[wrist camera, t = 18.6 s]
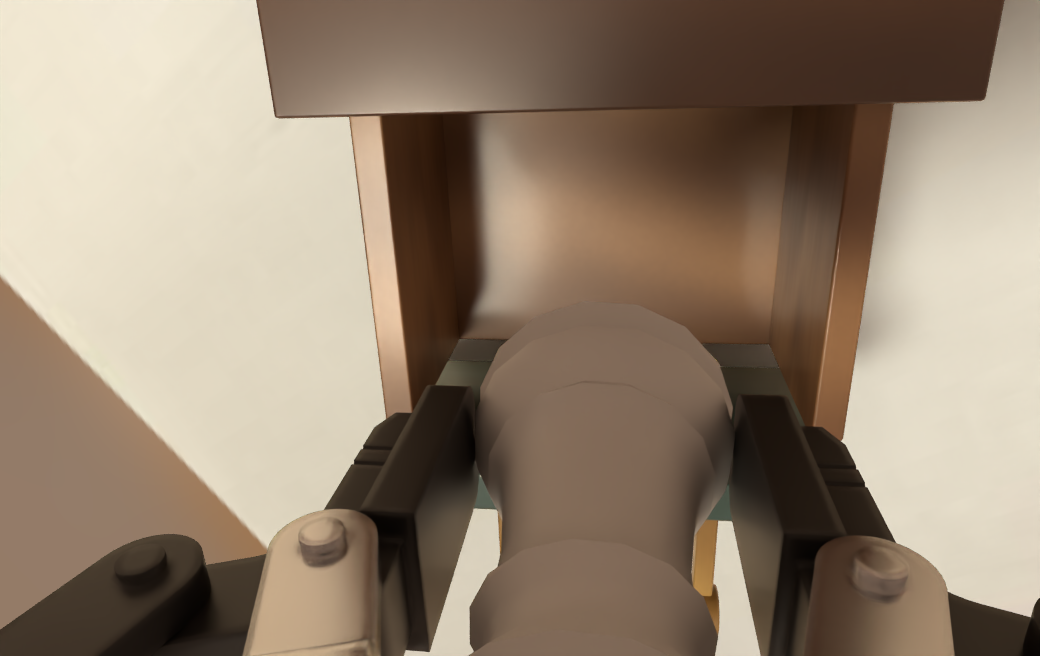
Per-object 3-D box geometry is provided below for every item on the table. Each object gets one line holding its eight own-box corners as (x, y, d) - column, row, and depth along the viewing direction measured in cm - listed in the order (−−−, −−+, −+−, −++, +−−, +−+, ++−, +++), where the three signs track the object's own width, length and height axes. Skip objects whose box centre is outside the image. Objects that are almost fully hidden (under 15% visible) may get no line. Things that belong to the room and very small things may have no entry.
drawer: (784, 527, 28) (833, 685, 21) (443, 510, 30) (390, 650, 23) (857, -65, 20) (970, -106, 14) (391, -39, 22) (290, -65, 15)
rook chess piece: (737, 499, 14) (865, 1043, 6) (506, 514, 15) (387, 1011, 7) (719, 274, 12) (863, 660, 5) (460, 306, 13) (248, 676, 6)
